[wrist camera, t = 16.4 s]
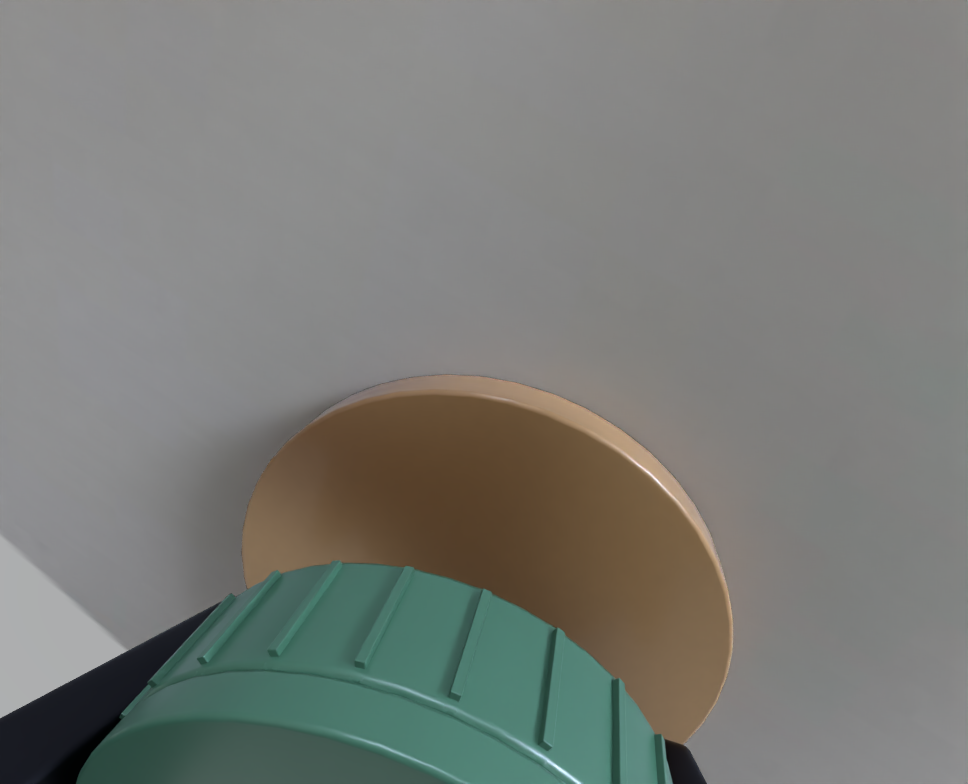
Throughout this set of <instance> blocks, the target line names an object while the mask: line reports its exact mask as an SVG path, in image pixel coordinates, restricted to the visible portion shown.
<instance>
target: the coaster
mask: <svg viewBox="0 0 968 784" xmlns="http://www.w3.org/2000/svg"><path fill="white" fill-rule="evenodd" d="M335 560H340V561H341V563H375V564H384V565H391V566H398V567H405V566H410V567H414V569H418V570H421V571H425V572H429V573H433V574H437V575H441V576H445V577H449V578H452V579H455V580H458V581H460V582H463V583H466V584H469V585H471V586H474V587H477V588H481V589H486V590H489V591H491V592H492V593H493V594H495V595H497V596H498V597H500V598H503V599H505V600H507V601H509V602H511V603H513V604H515V605H517V606H519V607H521V608H523V609H525V610H527V611H528V612H530V613H532V614H533V615H535V616H537V617H538V618H540V619H542V620H543V621H545V622H547V623H549V624H550V625H552V626H553V627H555V628H557V627H558V628H560V629H561V630H563V631H564V632H565V635H566V636H567V637H568V638H570V639H571V640H572V641H574V642H575V643H576V644H578V645H579V646H580V647H582V648H583V649H584V650H586V651H587V652H588V653H589V654H590V655H591V656H592V657H593V658H595V659H596V660H597V661H598V662H599V663H600V664H601V665H602V666H603V667H604V668H605V669H606V670H607V671H609V672H610V673H611V675H613V676H614V677H615V679H617V678H620V679H621V680H622V681H623V682H624V683H625V691H626V692H627V693H628V694H629V695H630V697H631V698H632V699H633V700H634V701H635V703H636V704H637V705H638V707H639V709H640V710H641V712H642V713H643V715H644V717H645V718H646V720H647V721H648V723H649V725H650V726H651V728H652V729H653V731H654V733H655V735H656V734H662V736H663V738H664V739H667V740H670V741H673V742H676V743H679V744H682V745H683V744H684V743H686V742H687V740H688V739H689V738H690V737H691V736H692V735H693V734H694V733H695V732H696V731H697V730H698V728H699V727H700V726H701V725H702V724H703V723H704V721H705V720H706V718H707V717H708V715H709V713H710V712H711V710H712V709H713V707H714V706H715V704H716V702H717V700H718V698H719V695H720V693H721V690H722V688H723V686H724V683H725V681H726V678H727V675H728V670H729V665H730V660H731V655H732V650H733V616H732V610H731V604H730V598H729V592H728V588H727V584H726V581H725V577H724V573H723V570H722V566H721V563H720V560H719V557H718V554H717V551H716V548H715V546H714V543H713V540H712V537H711V534H710V532H709V530H708V528H707V527H706V525H705V523H704V521H703V519H702V517H701V515H700V513H699V512H698V510H697V508H696V506H695V504H694V503H693V502H692V500H691V499H690V498H689V496H688V495H687V494H686V492H685V491H684V490H683V488H682V487H681V486H680V484H679V483H678V481H677V480H676V479H675V477H674V476H673V475H672V474H671V473H670V472H669V471H668V470H667V469H666V468H665V467H664V466H663V465H662V464H661V463H660V462H659V461H658V460H657V459H656V458H655V457H654V456H653V455H652V454H651V453H650V452H649V451H648V450H646V449H645V448H644V447H643V446H641V445H640V444H639V443H638V442H636V441H635V440H634V439H633V438H631V437H630V436H629V435H627V434H626V433H625V432H624V431H622V430H621V429H620V428H618V427H616V426H615V425H613V424H611V423H610V422H608V421H606V420H605V419H603V418H601V417H600V416H598V415H596V414H595V413H593V412H591V411H590V410H588V409H586V408H584V407H581V406H579V405H577V404H575V403H572V402H570V401H568V400H566V399H564V398H561V397H559V396H557V395H555V394H552V393H549V392H545V391H542V390H539V389H536V388H532V387H529V386H526V385H523V384H520V383H515V382H510V381H504V380H499V379H493V378H488V377H482V376H465V375H447V374H446V375H433V376H420V377H411V378H406V379H401V380H397V381H392V382H387V383H383V384H379V385H377V386H374V387H371V388H369V389H366V390H363V391H361V392H358V393H355V394H353V395H351V396H349V397H347V398H346V399H344V400H342V401H340V402H338V403H337V404H335V405H333V406H331V407H329V408H328V409H327V410H325V411H324V412H323V413H322V414H320V415H319V416H318V417H317V418H315V419H314V420H313V421H312V422H310V423H309V424H308V425H306V426H305V427H304V428H303V429H301V430H300V431H299V432H298V433H296V434H295V435H294V436H293V437H291V438H290V439H289V440H288V441H287V442H286V443H285V444H284V445H283V447H282V448H281V449H280V450H279V451H278V452H277V453H276V454H275V455H274V457H273V458H272V459H271V460H270V462H269V463H268V465H267V467H266V468H265V470H264V471H263V473H262V475H261V476H260V478H259V479H258V481H257V484H256V486H255V489H254V491H253V494H252V496H251V499H250V501H249V504H248V507H247V512H246V516H245V521H244V525H243V534H242V562H243V572H244V579H245V583H246V587H247V590H248V589H249V588H251V587H252V586H254V585H255V584H258V583H260V582H262V581H264V580H265V579H266V578H267V577H268V576H269V575H270V573H271V572H273V571H276V570H278V571H279V572H280V573H281V574H282V573H284V572H288V571H293V570H297V569H301V568H305V567H309V566H315V565H325V564H331V562H332V561H335Z"/></svg>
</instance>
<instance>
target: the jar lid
mask: <svg viewBox="0 0 968 784" xmlns="http://www.w3.org/2000/svg"><path fill="white" fill-rule="evenodd" d="M147 683H148V685H147V686H146V687H145V688H144V689H143V690H142V692H141V693H140V694H139V695H138V696H137V697H136V698H135V699H134V700H133V701H132V702H131V703H130V705H129V706H128V707H127V708H126V709H125V710H124V711H123V712H122V713H121V715H120V719H122V720H121V721H120V722H119V723H118V724H117V725H116V726H115V727H114V729H113V730H112V731H111V732H110V733H109V734H108V735H107V736H106V737H105V738H104V740H103V741H102V742H101V743H100V744H99V745H98V746H97V747H96V748H95V749H94V751H93V752H92V753H91V755H90V756H89V758H88V759H87V761H86V762H85V764H84V766H83V767H82V769H81V771H80V773H79V775H78V778H77V782H76V784H673V782H672V778H671V774H670V769H669V765H668V762H667V759H666V749H665V740H664V738H663V736H662V734H656V735H655V733H654V731H653V729H652V728H651V726H650V725H649V723H648V721H647V720H646V718H645V717H644V715H643V713H642V712H641V710H640V709H639V707H638V705H637V704H636V703H635V701H634V700H633V699H632V698H631V697H630V695H629V694H628V693H627V692H626V691H625V683H624V682H623V681H622V680H621V679H620V678H617V679H615V677H614V676H613V675H611V673H610V672H609V671H607V670H606V669H605V668H604V667H603V666H602V665H601V664H600V663H599V662H598V661H597V660H596V659H595V658H593V657H592V656H591V655H590V654H589V653H588V652H587V651H586V650H584V649H583V648H582V647H580V646H579V645H578V644H576V643H575V642H574V641H572V640H571V639H570V638H568V637H567V636H566V635H565V632H564V631H563V630H561V629H560V628H558V627H557V628H555V627H553V626H552V625H550V624H549V623H547V622H545V621H543V620H542V619H540V618H538V617H537V616H535V615H533V614H532V613H530V612H528V611H527V610H525V609H523V608H521V607H519V606H517V605H515V604H513V603H511V602H509V601H507V600H505V599H503V598H500V597H498V596H497V595H495V594H493V593H492V592H491V591H489V590H486V589H481V588H477V587H474V586H471V585H469V584H466V583H463V582H460V581H458V580H455V579H452V578H449V577H445V576H441V575H437V574H433V573H429V572H425V571H421V570H418V569H414V567H410V566H405V567H398V566H391V565H384V564H375V563H341V561H340V560H335V561H332V562H331V564H325V565H315V566H309V567H305V568H301V569H297V570H293V571H288V572H284V573H282V574H281V573H280V572H279V571H278V570H276V571H273V572H271V573H270V575H269V576H268V577H267V578H266V579H265V580H264V581H262V582H260V583H258V584H255V585H254V586H252V587H251V588H249V589H248V590H246V591H244V592H243V593H241V594H240V595H238V596H237V597H235V596H234V595H233V594H232V593H231V594H229V595H228V596H227V597H226V598H225V599H224V600H223V601H222V602H221V603H220V604H219V605H218V607H217V608H216V609H215V610H214V611H213V612H212V613H211V614H210V615H209V616H208V617H207V618H206V619H205V621H204V622H203V623H202V624H201V625H200V626H199V627H198V628H197V629H196V630H195V631H194V632H193V633H192V635H191V636H190V637H189V638H188V639H187V640H186V641H185V642H184V643H183V644H182V645H181V646H180V647H179V649H178V650H177V651H176V652H175V653H174V654H173V655H172V656H171V657H170V658H169V659H168V660H167V661H166V663H165V664H164V665H163V666H162V667H161V668H160V669H159V670H158V671H157V672H156V673H155V674H154V675H153V677H152V678H151V679H150V680H149V681H148V682H147Z"/></svg>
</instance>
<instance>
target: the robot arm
mask: <svg viewBox="0 0 968 784" xmlns="http://www.w3.org/2000/svg"><path fill="white" fill-rule="evenodd" d="M221 602H222V601H221ZM221 602H219V603H218V604H216V605H214V606H212V607H210V608H208V609H206V610H204V611H202V612H201V613H199V614H197V615H195V616H193V617H191V618H189V619H187V620H185V621H184V622H182V623H180V624H178V625H176V626H174V627H172V628H170V629H168V630H167V631H165V632H163V633H161V634H159V635H157V636H155V637H153V638H151V639H149V640H148V641H146V642H144V643H142V644H140V645H138V646H136V647H134V648H132V649H131V650H129V651H127V652H125V653H123V654H121V655H119V656H117V657H115V658H114V659H112V660H110V661H108V662H106V663H104V664H102V665H100V666H98V667H97V668H95V669H93V670H91V671H89V672H87V673H85V674H83V675H81V676H80V677H78V678H76V679H74V680H72V681H70V682H69V683H66V684H64V685H63V686H61V687H59V688H57V689H55V690H53V691H51V692H49V693H48V694H46V695H44V696H42V697H40V698H38V699H36V700H34V701H32V702H30V703H29V704H27V705H25V706H23V707H21V708H19V709H17V710H15V711H13V712H12V713H10V714H8V715H6V716H4V717H2V718H0V784H76V782H77V778H78V775H79V773H80V771H81V769H82V767H83V766H84V764H85V762H86V761H87V759H88V758H89V756H90V755H91V753H92V752H93V751H94V749H95V748H96V747H97V746H98V745H99V744H100V743H101V742H102V741H103V740H104V738H105V737H106V736H107V735H108V734H109V733H110V732H111V731H112V730H113V729H114V727H115V726H116V725H117V724H118V723H119V722H120V721H121V720H122V719H120V715H121V713H122V712H123V711H124V710H125V709H126V708H127V707H128V706H129V705H130V703H131V702H132V701H133V700H134V699H135V698H136V697H137V696H138V695H139V694H140V693H141V692H142V690H143V689H144V688H145V687H146V686H147V685H148V683H147V682H148V681H149V680H150V679H151V678H152V677H153V675H154V674H155V673H156V672H157V671H158V670H159V669H160V668H161V667H162V666H163V665H164V664H165V663H166V661H167V660H168V659H169V658H170V657H171V656H172V655H173V654H174V653H175V652H176V651H177V650H178V649H179V647H180V646H181V645H182V644H183V643H184V642H185V641H186V640H187V639H188V638H189V637H190V636H191V635H192V633H193V632H194V631H195V630H196V629H197V628H198V627H199V626H200V625H201V624H202V623H203V622H204V621H205V619H206V618H207V617H208V616H209V615H210V614H211V613H212V612H213V611H214V610H215V609H216V608H217V607H218V605H219V604H220V603H221ZM664 740H665V749H666V759H667V762H668V765H669V769H670V774H671V778H672V782H673V784H707V783H706V781H705V779H704V777H703V775H702V773H701V771H700V770H699V768H698V766H697V764H696V762H695V760H694V758H693V756H692V754H691V752H690V751H689V749H688V748H687V747H686V746H684V745H682V744H679V743H676V742H673V741H670V740H667V739H664Z"/></svg>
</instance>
